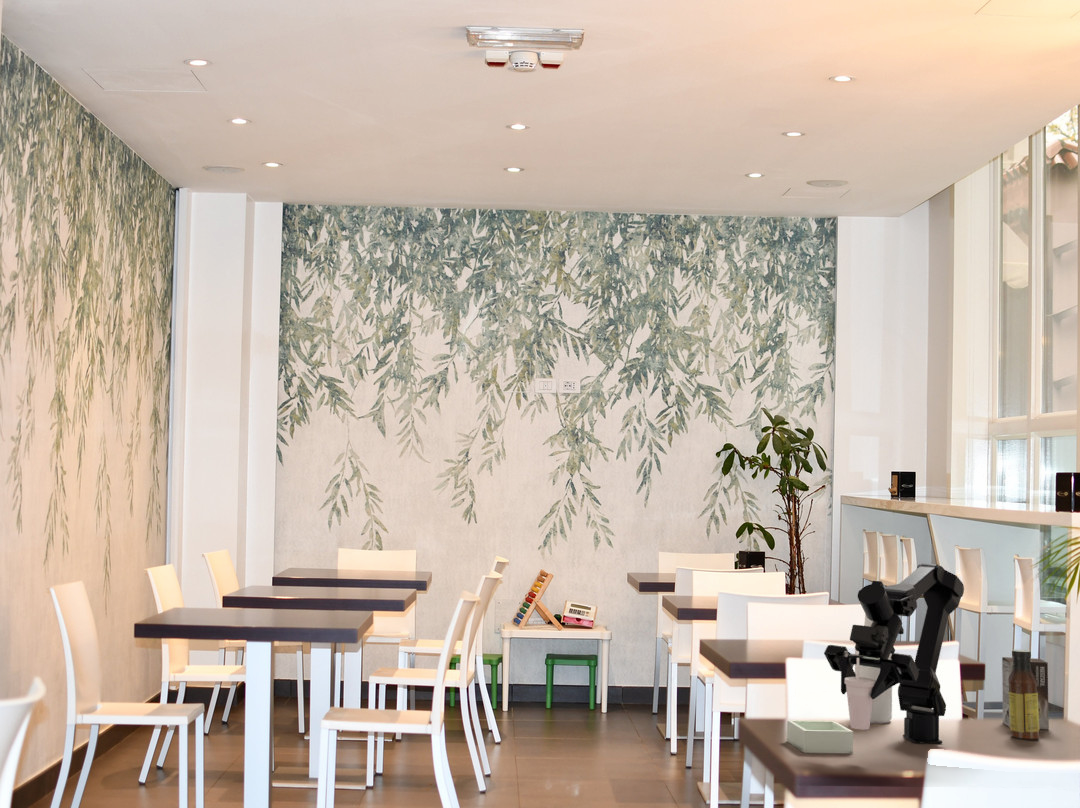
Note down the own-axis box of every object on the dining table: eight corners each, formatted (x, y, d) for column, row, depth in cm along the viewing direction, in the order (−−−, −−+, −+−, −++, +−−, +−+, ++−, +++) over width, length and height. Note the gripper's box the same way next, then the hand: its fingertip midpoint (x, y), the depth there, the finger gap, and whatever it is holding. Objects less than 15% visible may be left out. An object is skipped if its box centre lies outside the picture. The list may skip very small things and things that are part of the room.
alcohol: (897, 724, 258) (899, 598, 260) (862, 723, 257) (864, 597, 260) (882, 716, 266) (883, 594, 269) (848, 716, 266) (850, 593, 268)
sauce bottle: (1039, 736, 249) (1039, 650, 251) (1039, 742, 244) (1039, 653, 245) (1008, 733, 252) (1008, 647, 254) (1008, 738, 246) (1008, 650, 248)
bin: (833, 741, 235) (833, 721, 236) (852, 753, 225) (853, 731, 225) (786, 741, 234) (787, 720, 234) (804, 752, 224) (804, 730, 224)
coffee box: (1039, 724, 264) (1039, 658, 266) (1049, 730, 258) (1049, 662, 259) (1001, 722, 265) (1001, 656, 267) (1010, 727, 259) (1010, 659, 260)
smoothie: (839, 723, 222) (839, 655, 223) (869, 724, 222) (869, 655, 223) (850, 730, 215) (851, 659, 216) (881, 731, 216) (882, 660, 217)
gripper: (828, 606, 230) (802, 663, 221) (912, 615, 217) (888, 676, 208) (845, 640, 235) (820, 697, 226) (929, 651, 222) (905, 712, 213)
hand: (857, 695), depth 218 cm, fingers closed on smoothie, 6 cm apart
